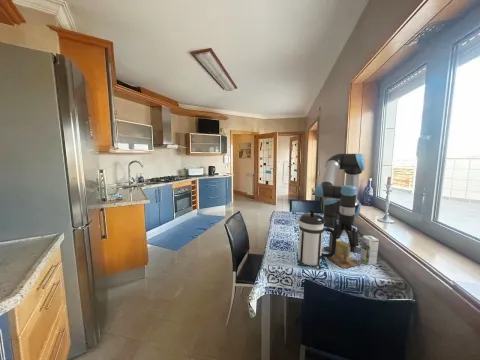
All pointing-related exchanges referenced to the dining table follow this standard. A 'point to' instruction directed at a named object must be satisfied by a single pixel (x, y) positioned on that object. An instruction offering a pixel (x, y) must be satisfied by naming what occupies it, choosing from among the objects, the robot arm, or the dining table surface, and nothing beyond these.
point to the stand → (343, 250)
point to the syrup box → (369, 250)
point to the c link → (339, 250)
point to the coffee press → (313, 239)
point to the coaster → (343, 262)
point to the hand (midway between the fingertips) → (343, 253)
